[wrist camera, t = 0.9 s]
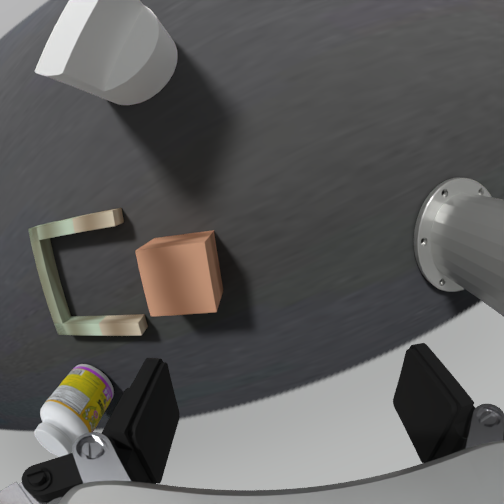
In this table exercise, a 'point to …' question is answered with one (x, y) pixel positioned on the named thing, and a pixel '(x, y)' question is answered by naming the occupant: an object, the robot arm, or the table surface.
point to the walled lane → (53, 287)
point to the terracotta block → (181, 274)
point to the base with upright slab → (110, 50)
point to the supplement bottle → (74, 409)
